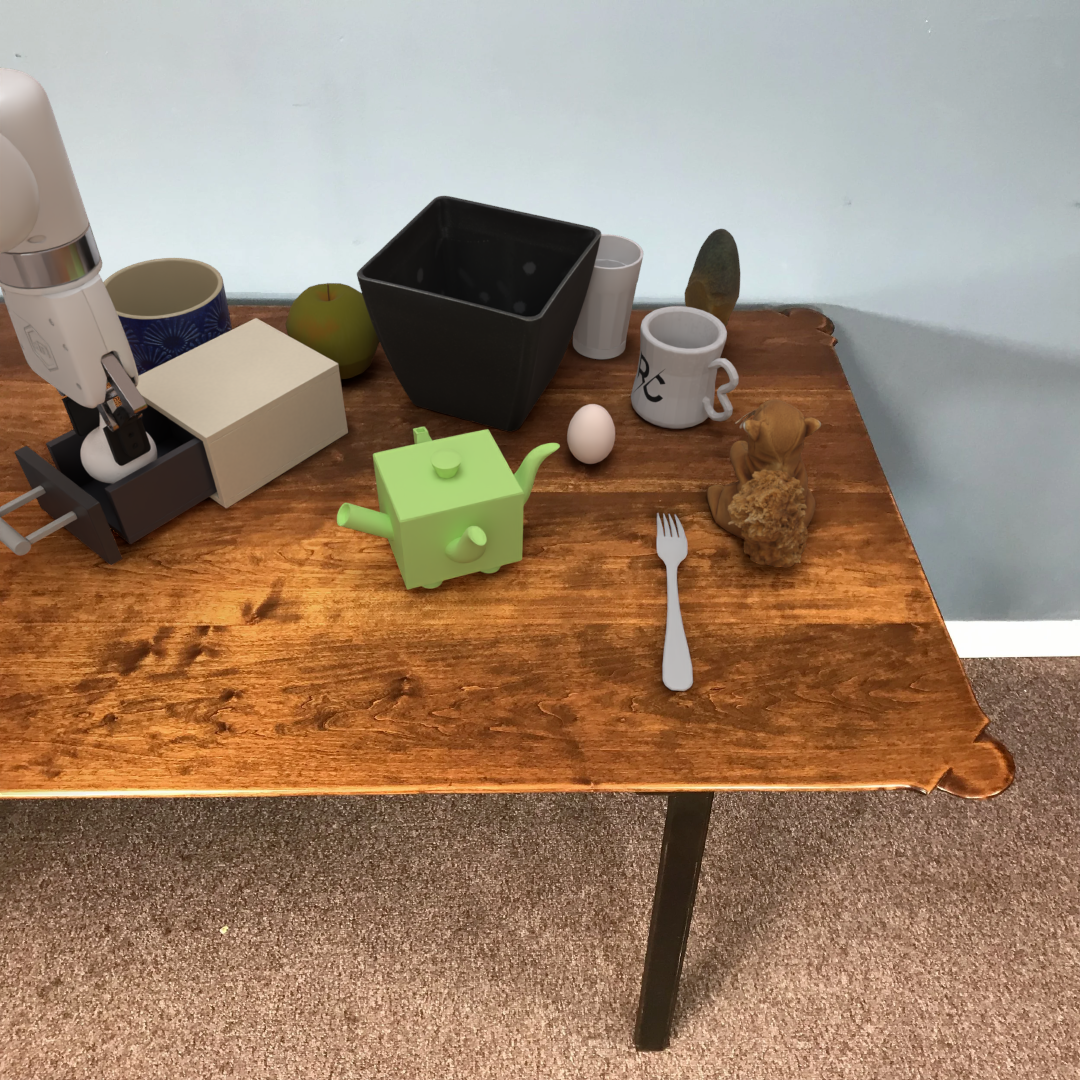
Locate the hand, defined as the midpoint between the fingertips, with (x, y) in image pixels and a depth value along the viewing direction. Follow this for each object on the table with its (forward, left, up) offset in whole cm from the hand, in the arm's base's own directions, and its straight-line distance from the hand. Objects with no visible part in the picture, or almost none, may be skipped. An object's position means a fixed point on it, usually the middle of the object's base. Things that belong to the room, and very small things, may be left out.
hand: (113, 441), depth 82 cm
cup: (+52, -16, -8) cm, 55 cm away
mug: (+47, -31, -8) cm, 57 cm away
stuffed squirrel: (+36, -47, -8) cm, 60 cm away
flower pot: (+36, -12, -8) cm, 39 cm away
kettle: (+15, -27, -8) cm, 32 cm away
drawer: (-2, 0, -7) cm, 7 cm away
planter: (+16, +15, -8) cm, 24 cm away
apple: (+28, +3, -8) cm, 30 cm away
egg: (+34, -28, -8) cm, 45 cm away
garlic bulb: (0, 0, -3) cm, 3 cm away
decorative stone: (+59, -26, -8) cm, 65 cm away
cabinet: (+13, 0, -8) cm, 15 cm away
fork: (+24, -45, -8) cm, 51 cm away
